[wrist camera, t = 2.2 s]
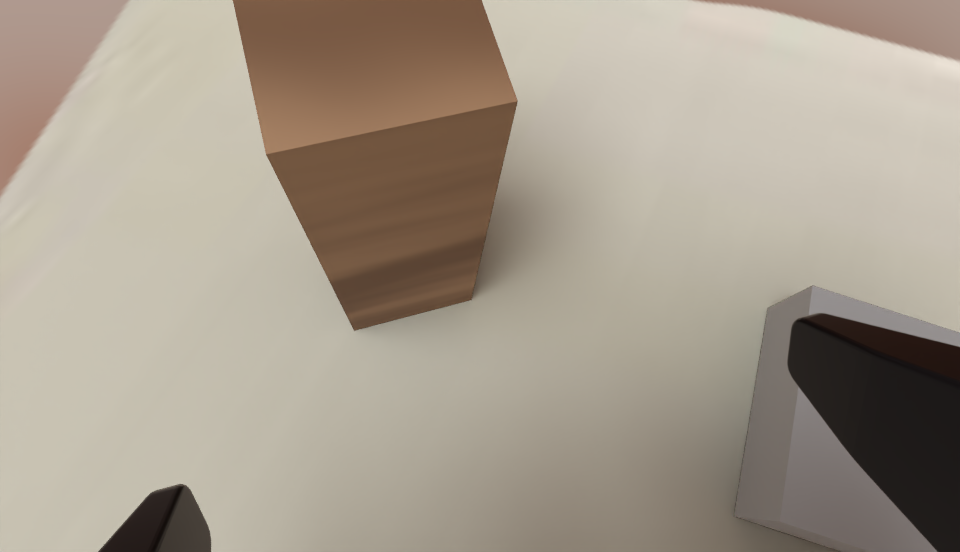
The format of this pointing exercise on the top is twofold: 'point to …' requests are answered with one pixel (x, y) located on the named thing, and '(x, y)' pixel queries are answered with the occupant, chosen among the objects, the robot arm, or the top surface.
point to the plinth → (817, 445)
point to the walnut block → (383, 140)
